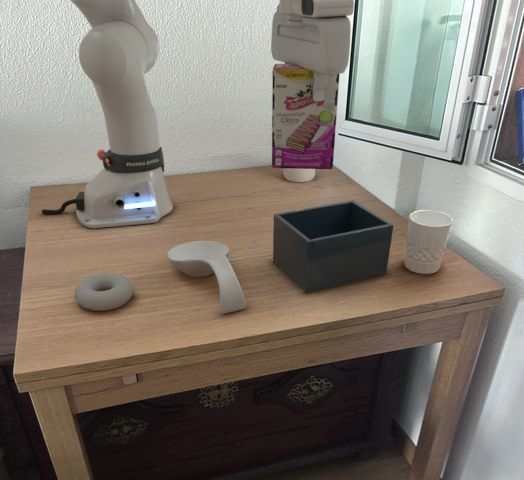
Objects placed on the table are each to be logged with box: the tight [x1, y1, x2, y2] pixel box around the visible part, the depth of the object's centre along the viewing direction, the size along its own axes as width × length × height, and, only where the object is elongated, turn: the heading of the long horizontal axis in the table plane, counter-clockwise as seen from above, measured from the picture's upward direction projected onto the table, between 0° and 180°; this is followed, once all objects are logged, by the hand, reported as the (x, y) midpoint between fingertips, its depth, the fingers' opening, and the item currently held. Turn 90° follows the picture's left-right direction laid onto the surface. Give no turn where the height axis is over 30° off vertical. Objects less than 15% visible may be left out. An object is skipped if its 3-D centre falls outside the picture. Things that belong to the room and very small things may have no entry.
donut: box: [74, 272, 134, 312], centre depth 95 cm, size 10×4×10 cm
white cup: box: [403, 209, 454, 275], centre depth 103 cm, size 8×8×10 cm
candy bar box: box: [271, 63, 340, 170], centre depth 94 cm, size 11×5×16 cm, turn 85°
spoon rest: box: [166, 240, 247, 315], centre depth 99 cm, size 24×12×7 cm, turn 26°
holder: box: [272, 200, 395, 294], centre depth 103 cm, size 18×14×10 cm
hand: (305, 96), depth 92 cm, fingers closed on candy bar box, 6 cm apart
